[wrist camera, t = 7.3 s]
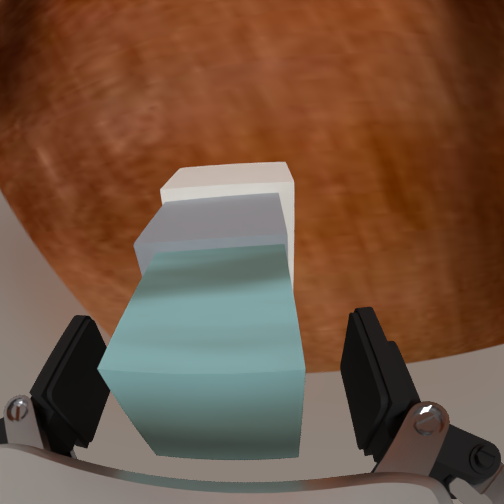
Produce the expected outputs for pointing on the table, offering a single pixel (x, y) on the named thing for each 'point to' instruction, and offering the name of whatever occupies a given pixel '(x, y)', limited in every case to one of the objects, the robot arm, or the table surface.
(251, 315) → the teal pillar
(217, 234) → the tower top
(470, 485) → the robot arm
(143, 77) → the table surface
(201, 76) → the table surface
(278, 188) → the block
